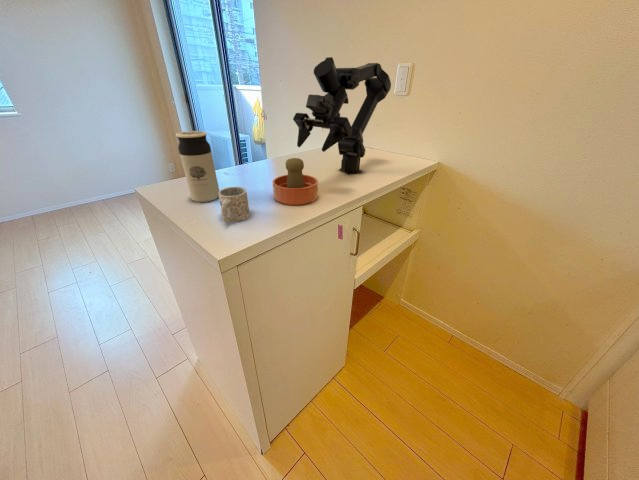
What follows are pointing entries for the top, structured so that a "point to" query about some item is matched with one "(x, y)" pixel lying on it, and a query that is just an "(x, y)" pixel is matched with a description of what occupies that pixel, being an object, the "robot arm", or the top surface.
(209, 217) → the top surface
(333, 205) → the top surface
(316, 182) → the orange brown bowl
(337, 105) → the robot arm
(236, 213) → the mug
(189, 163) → the travel mug
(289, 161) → the cork
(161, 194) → the top surface
